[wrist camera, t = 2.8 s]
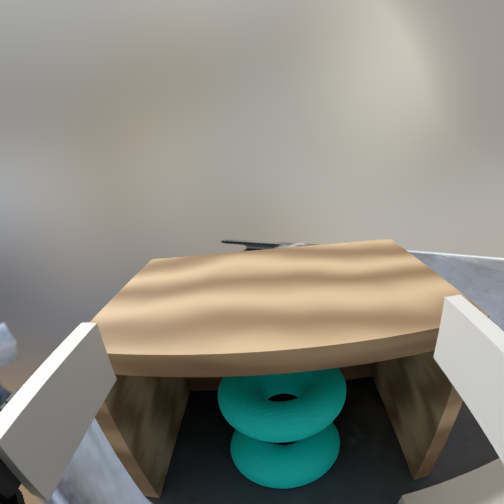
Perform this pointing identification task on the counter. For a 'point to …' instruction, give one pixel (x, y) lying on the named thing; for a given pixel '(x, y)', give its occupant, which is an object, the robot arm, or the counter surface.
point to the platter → (464, 488)
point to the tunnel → (275, 340)
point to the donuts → (284, 425)
